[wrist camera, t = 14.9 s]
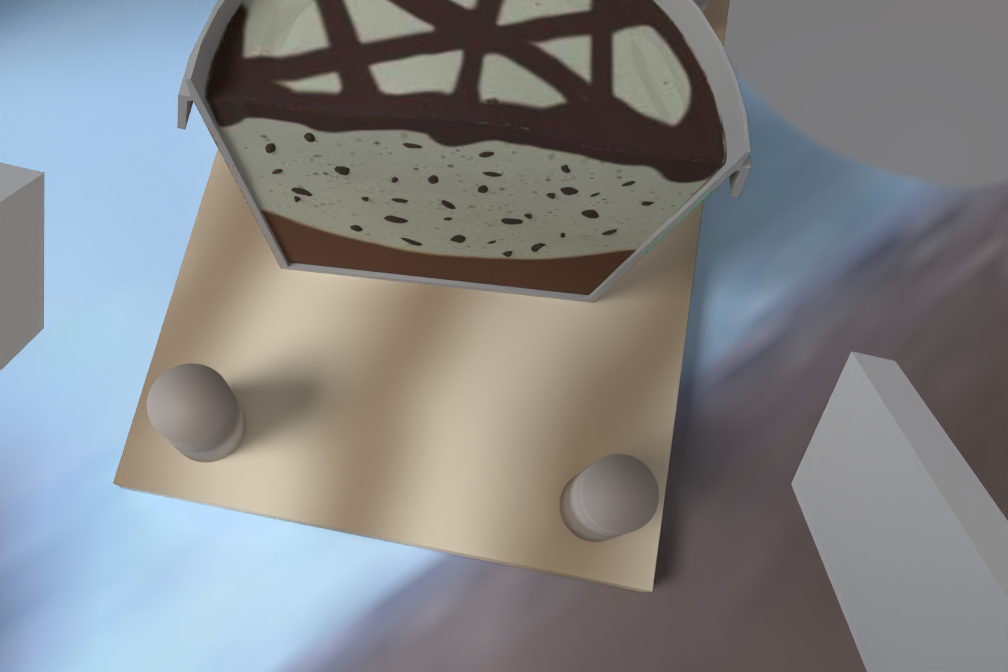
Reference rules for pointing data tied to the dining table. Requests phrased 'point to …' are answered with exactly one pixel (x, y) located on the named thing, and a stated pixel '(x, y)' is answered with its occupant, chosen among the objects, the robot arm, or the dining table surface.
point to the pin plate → (420, 401)
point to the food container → (469, 134)
